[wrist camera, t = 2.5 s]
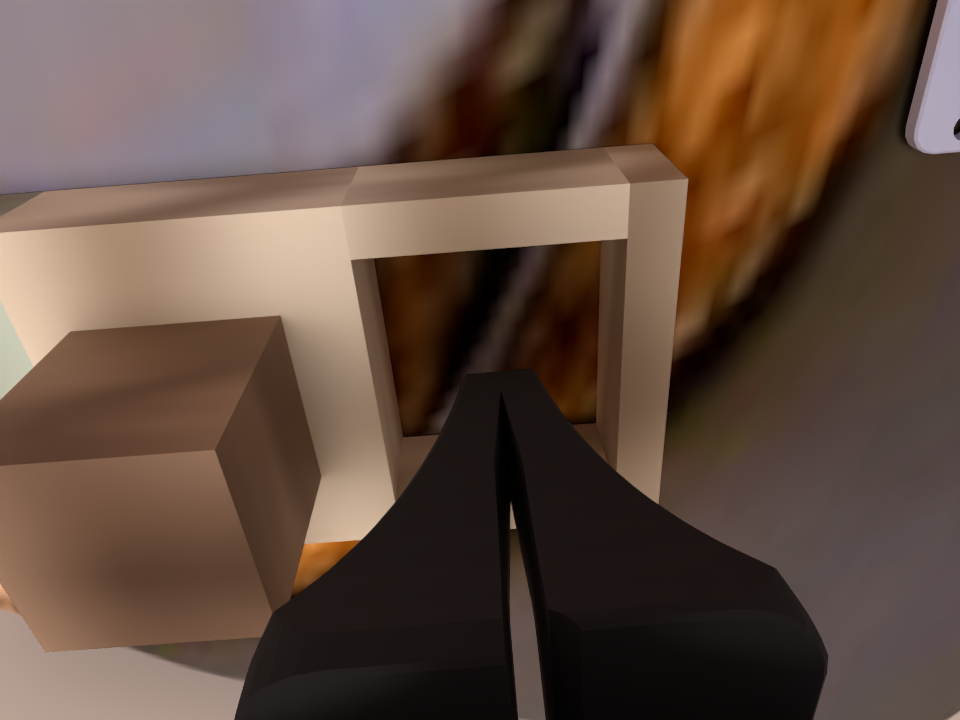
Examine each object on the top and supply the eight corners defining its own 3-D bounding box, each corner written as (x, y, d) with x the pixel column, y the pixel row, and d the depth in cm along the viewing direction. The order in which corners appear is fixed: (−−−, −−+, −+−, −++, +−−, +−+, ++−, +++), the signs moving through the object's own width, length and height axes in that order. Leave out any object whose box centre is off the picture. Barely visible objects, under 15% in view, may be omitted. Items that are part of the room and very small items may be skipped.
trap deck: (651, 143, 14) (688, 178, 11) (633, 450, 18) (657, 518, 16) (-481, 232, 14) (-651, 283, 12) (-239, 514, 18) (-332, 590, 16)
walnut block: (280, 315, 13) (214, 449, 9) (321, 476, 15) (280, 635, 11) (70, 331, 13) (-73, 470, 9) (140, 489, 15) (45, 652, 11)
